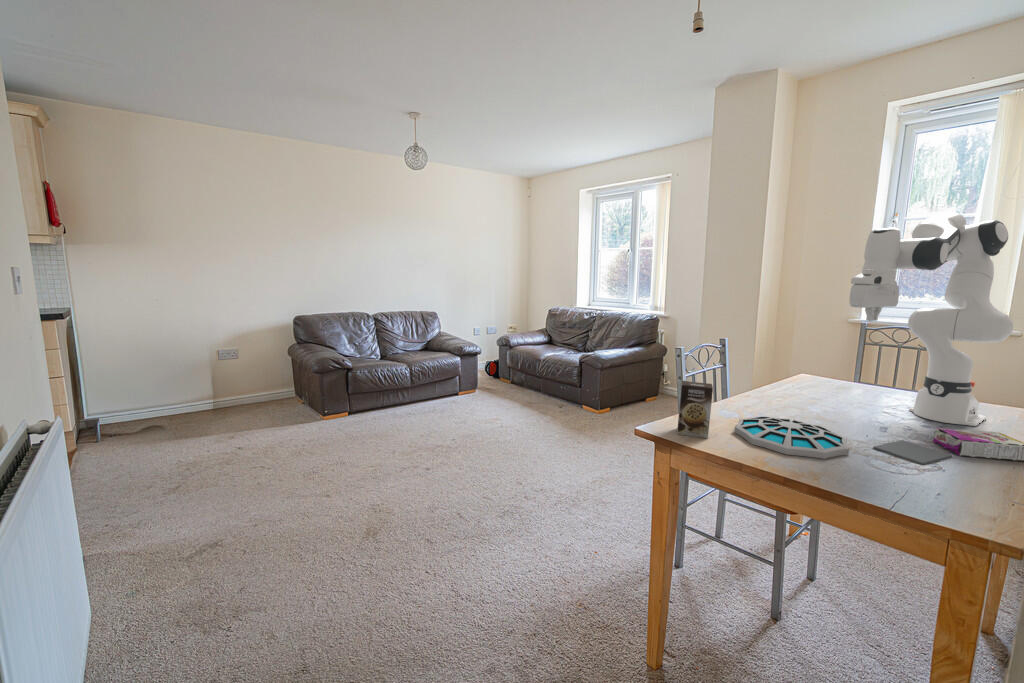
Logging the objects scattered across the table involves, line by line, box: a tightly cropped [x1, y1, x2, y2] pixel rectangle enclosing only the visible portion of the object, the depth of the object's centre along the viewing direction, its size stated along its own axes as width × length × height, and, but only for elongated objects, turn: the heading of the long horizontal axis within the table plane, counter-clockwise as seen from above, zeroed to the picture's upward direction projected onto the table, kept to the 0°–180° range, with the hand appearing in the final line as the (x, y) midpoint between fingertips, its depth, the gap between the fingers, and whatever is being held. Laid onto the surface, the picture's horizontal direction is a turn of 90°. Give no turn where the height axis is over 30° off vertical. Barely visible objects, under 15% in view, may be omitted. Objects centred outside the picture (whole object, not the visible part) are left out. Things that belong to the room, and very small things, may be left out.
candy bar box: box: [932, 427, 1024, 462], centre depth 130 cm, size 11×5×16 cm
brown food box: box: [676, 380, 714, 439], centre depth 141 cm, size 9×6×16 cm
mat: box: [872, 439, 953, 466], centre depth 129 cm, size 14×12×1 cm
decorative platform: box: [734, 415, 850, 460], centre depth 139 cm, size 31×29×5 cm
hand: (871, 320), depth 149 cm, fingers closed
